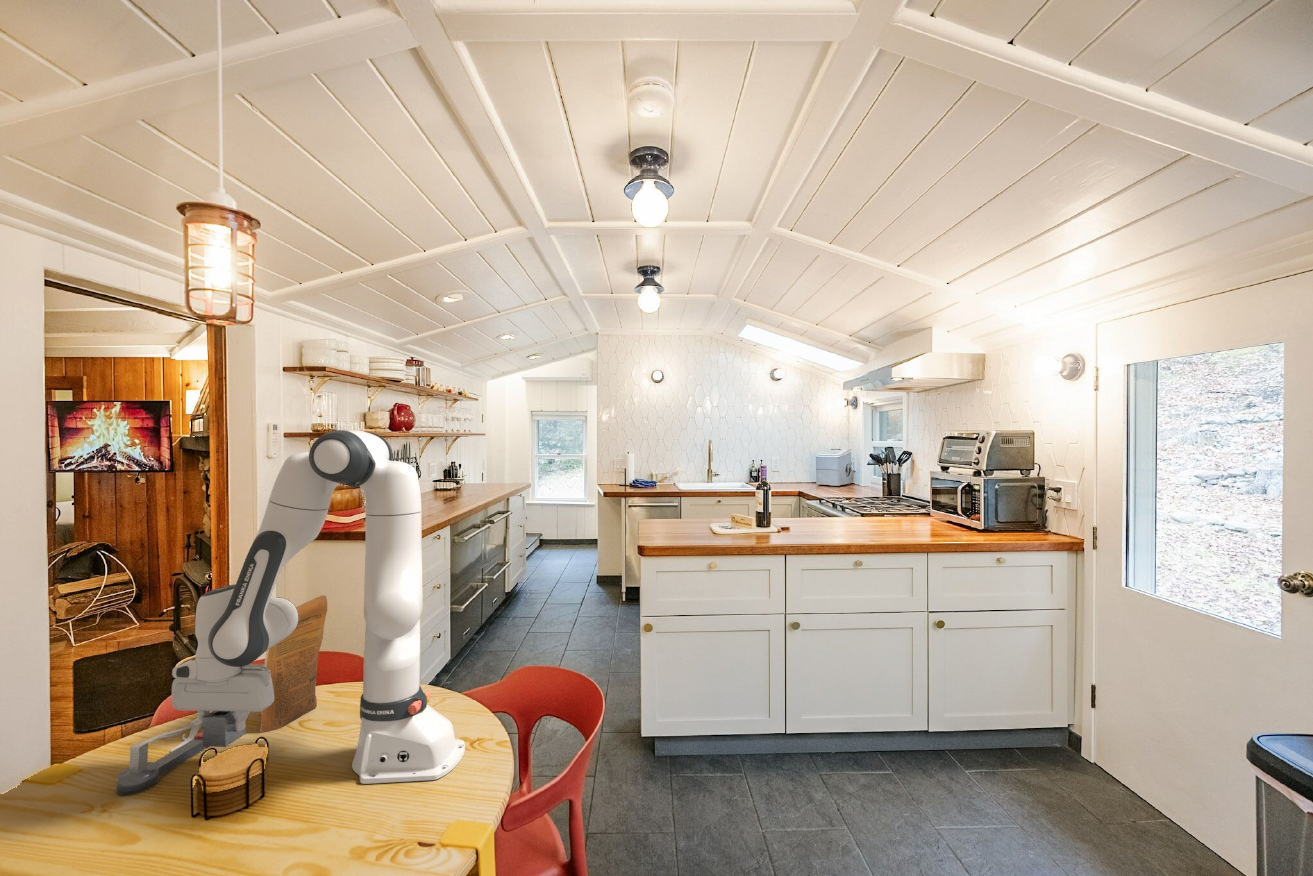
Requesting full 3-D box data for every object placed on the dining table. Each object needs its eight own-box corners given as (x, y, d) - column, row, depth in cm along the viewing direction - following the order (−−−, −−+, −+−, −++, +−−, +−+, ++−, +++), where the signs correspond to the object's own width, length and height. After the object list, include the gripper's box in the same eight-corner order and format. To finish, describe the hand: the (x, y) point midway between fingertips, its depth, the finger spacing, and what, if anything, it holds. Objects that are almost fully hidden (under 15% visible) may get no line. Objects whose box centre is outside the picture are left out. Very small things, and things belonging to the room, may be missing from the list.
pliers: (131, 743, 121) (194, 711, 136) (131, 751, 121) (194, 718, 136) (172, 747, 120) (232, 714, 135) (172, 754, 120) (231, 720, 135)
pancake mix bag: (334, 701, 145) (337, 594, 146) (271, 738, 127) (275, 615, 127) (312, 698, 147) (315, 592, 147) (246, 735, 128) (250, 612, 128)
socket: (245, 734, 119) (245, 706, 119) (225, 747, 114) (225, 717, 114) (223, 733, 119) (223, 705, 119) (202, 746, 114) (202, 717, 114)
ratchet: (239, 732, 129) (241, 697, 129) (136, 796, 105) (138, 753, 105) (215, 730, 129) (216, 696, 130) (107, 794, 106) (108, 752, 106)
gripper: (281, 658, 119) (282, 723, 119) (192, 657, 120) (193, 721, 120) (257, 670, 112) (258, 739, 112) (164, 669, 114) (165, 736, 114)
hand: (224, 730), depth 116 cm, fingers closed on socket, 5 cm apart
